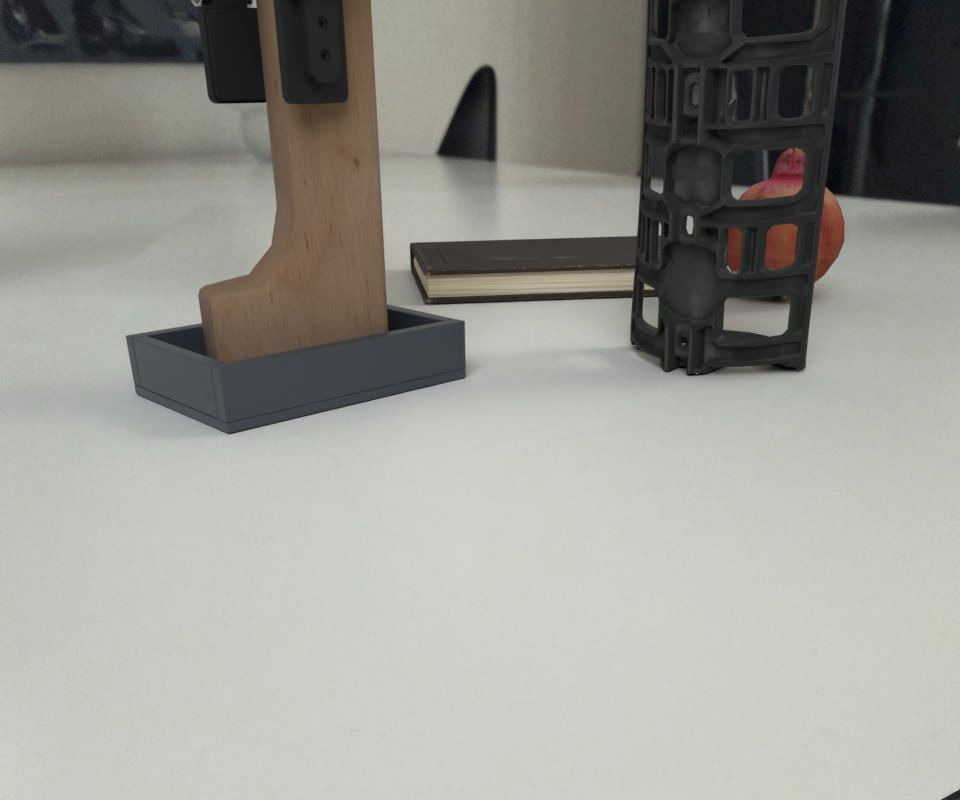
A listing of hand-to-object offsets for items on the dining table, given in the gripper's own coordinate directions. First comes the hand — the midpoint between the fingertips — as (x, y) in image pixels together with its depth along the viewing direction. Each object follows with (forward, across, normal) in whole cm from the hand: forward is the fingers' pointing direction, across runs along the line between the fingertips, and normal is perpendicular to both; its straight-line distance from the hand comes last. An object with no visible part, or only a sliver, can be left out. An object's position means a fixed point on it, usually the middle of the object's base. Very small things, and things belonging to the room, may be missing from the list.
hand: (276, 98), depth 47 cm
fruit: (+14, +4, +38) cm, 41 cm away
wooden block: (+13, 0, 0) cm, 13 cm away
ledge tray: (+13, 0, 0) cm, 13 cm away
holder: (+14, +12, +19) cm, 26 cm away
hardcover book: (+14, -13, +33) cm, 38 cm away
